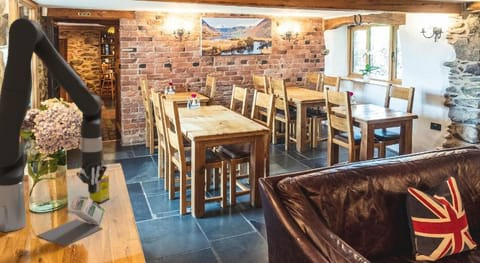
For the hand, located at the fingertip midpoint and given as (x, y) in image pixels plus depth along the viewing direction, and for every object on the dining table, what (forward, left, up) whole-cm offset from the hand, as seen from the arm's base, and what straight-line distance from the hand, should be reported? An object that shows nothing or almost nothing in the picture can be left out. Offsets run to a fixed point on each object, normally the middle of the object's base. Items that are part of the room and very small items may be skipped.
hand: (92, 192), depth 159 cm
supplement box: (+17, +15, -12) cm, 26 cm away
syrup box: (+1, 0, -10) cm, 10 cm away
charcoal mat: (-10, 0, -12) cm, 16 cm away
